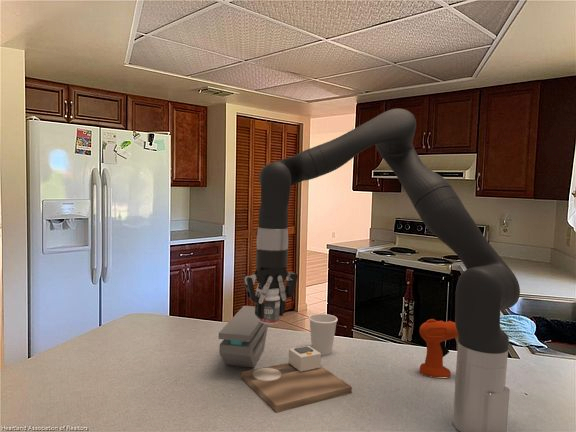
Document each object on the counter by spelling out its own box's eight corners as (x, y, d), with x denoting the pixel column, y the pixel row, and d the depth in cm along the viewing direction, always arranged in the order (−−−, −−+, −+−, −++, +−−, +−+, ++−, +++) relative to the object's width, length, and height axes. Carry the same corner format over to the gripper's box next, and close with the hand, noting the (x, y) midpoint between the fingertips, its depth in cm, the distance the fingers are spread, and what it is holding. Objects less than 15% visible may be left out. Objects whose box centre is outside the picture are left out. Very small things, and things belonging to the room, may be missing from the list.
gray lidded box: (248, 379, 107) (249, 335, 106) (217, 375, 108) (218, 332, 107) (267, 343, 131) (269, 307, 131) (242, 340, 132) (243, 305, 132)
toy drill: (499, 379, 109) (495, 320, 108) (421, 379, 112) (417, 322, 111) (493, 370, 114) (489, 314, 113) (418, 371, 117) (414, 317, 116)
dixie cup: (336, 347, 130) (337, 314, 129) (336, 358, 122) (337, 323, 121) (308, 345, 131) (309, 312, 130) (306, 355, 123) (307, 321, 122)
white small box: (320, 367, 111) (321, 352, 111) (300, 371, 108) (301, 355, 108) (307, 358, 116) (308, 344, 116) (288, 362, 113) (289, 347, 113)
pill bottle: (255, 322, 104) (257, 288, 104) (266, 317, 108) (267, 284, 108) (273, 326, 102) (274, 291, 101) (282, 320, 106) (284, 287, 106)
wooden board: (351, 392, 102) (351, 385, 101) (276, 412, 92) (276, 404, 91) (309, 363, 117) (309, 357, 117) (241, 377, 107) (241, 371, 107)
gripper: (290, 243, 111) (287, 309, 112) (238, 245, 103) (236, 315, 105) (306, 247, 104) (303, 317, 105) (251, 250, 97) (249, 325, 98)
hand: (269, 316), depth 105 cm, fingers closed on pill bottle, 4 cm apart
